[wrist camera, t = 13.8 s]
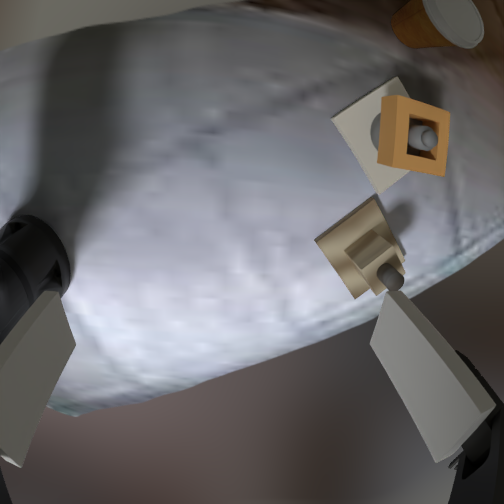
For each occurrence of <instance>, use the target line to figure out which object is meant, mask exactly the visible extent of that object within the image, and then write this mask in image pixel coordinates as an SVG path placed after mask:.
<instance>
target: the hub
mask: <svg viewBox="0 0 504 504" xmlns="http://www.w3.org/2000/svg"><path fill="white" fill-rule="evenodd" d="M392 95H400V96H403V97H407V98H410V97H409V95H408V93H407V91H406V90H405V88H404V86H403V85H402V83H401V81H400V80H399V78H398V77H394V78H392V79H390V80H389V81H387V82H386V83H384V84H382V85H381V86H379V87H378V88H376V89H374V90H373V91H371V92H370V93H368V94H367V95H365V96H364V97H362V98H360V99H359V100H357V101H356V102H354V103H353V104H351V105H350V106H348V107H347V108H345V109H344V110H342V111H341V112H339V113H338V114H336V115H335V116H333V117H332V118H330V119H331V120H332V122H333V123H334V125H335V126H336V128H337V129H338V131H339V132H340V134H341V135H342V137H343V138H344V140H345V141H346V143H347V144H348V146H349V148H350V149H351V151H352V152H353V154H354V156H355V157H356V159H357V161H358V162H359V164H360V166H361V167H362V169H363V171H364V172H365V174H366V176H367V178H368V179H369V181H370V183H371V185H372V186H373V188H374V190H375V192H376V193H377V194H379V195H380V194H381V193H382V192H384V191H385V190H386V189H388V188H389V187H390V186H391V185H393V184H394V183H395V182H396V181H398V180H399V179H400V178H402V177H403V176H404V175H405V174H407V173H408V172H409V171H410V170H405V169H399V168H393V167H389V166H386V165H382V164H379V163H377V157H378V146H379V134H380V119H381V97H384V96H392ZM437 144H438V136H437V134H436V133H435V132H434V131H433V130H432V128H430V127H429V126H422V121H419V120H416V119H412V118H409V130H408V143H407V153H406V154H409V155H414V156H420V150H425V151H429V150H431V149H433V147H435V146H436V145H437Z"/></svg>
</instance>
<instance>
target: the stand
mask: <svg viewBox="0 0 504 504" xmlns="http://www.w3.org/2000/svg"><path fill="white" fill-rule="evenodd" d="M314 241H315V242H316V243H317V245H318V246H319V248H320V249H321V250H322V252H323V253H324V255H325V256H326V258H327V259H328V260H329V262H330V263H331V265H332V266H333V268H334V269H335V271H336V272H337V273H338V275H339V276H340V278H341V279H342V281H343V282H344V284H345V285H346V287H347V288H348V290H349V291H350V293H351V294H352V296H353V297H354V299H356V298H358V297H359V296H360V295H362V294H363V293H364V292H366V291H367V290H368V289H371V290H372V291H373V292H374V294H375V295H376V296H377V295H378V294H380V293H381V292H382V291H383V290H385V289H386V288H387V289H388V290H389V291H398V290H399V289H400V288H401V287H402V286H403V284H404V277H403V275H404V274H405V270H404V268H403V266H402V263H403V262H404V261H405V259H404V257H403V255H402V253H401V251H400V248H399V246H398V244H397V242H396V240H395V238H394V236H393V234H392V232H391V230H390V228H389V226H388V224H387V222H386V220H385V218H384V216H383V214H382V212H381V211H380V209H379V207H378V205H377V203H376V201H375V199H374V198H372V197H370V198H369V199H368V200H366V201H365V202H364V203H363V204H361V205H360V206H359V207H357V208H356V209H355V210H353V211H352V212H351V213H349V214H348V215H347V216H345V217H344V218H343V219H341V220H340V221H339V222H338V223H336V224H335V225H334V226H332V227H331V228H330V229H328V230H327V231H326V232H324V233H323V234H321V235H320V236H319V237H317V238H316V239H315V240H314Z"/></svg>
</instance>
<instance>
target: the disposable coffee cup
mask: <svg viewBox="0 0 504 504" xmlns="http://www.w3.org/2000/svg"><path fill="white" fill-rule="evenodd" d="M391 26H392V29H393V31H394V33H395V35H396V36H397V38H398V39H399V40H400V41H401V42H402V43H403V44H405V45H406V46H408V47H411V48H426V47H443V46H460V47H463V48H473V47H475V46H476V45H477V44H478V43H479V42H480V41H481V40H482V39H483V36H484V26H483V22H482V19H481V16H480V14H479V12H478V10H477V8H476V6H475V5H474V3H473V2H472V0H410V1H409V2H408V3H407V4H406V5H404V6H403V7H402V8H401V9H400V10H399V11H397V12H396V13H395V14H394V15H393V16H392V19H391Z"/></svg>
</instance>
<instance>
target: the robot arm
mask: <svg viewBox="0 0 504 504" xmlns="http://www.w3.org/2000/svg"><path fill="white" fill-rule="evenodd" d="M69 281H70V266H69V261H68V257H67V254H66V251H65V249H64V247H63V245H62V243H61V241H60V239H59V238H58V236H57V235H56V234H55V232H54V231H53V230H52V229H51V228H50V227H49V226H48V225H47V224H46V223H44V222H43V221H42V220H40V219H38V218H36V217H33V216H29V215H22V216H18V217H16V218H14V219H12V220H10V221H9V222H7V223H6V224H5V225H4V226H3V227H2V228H1V229H0V455H1V456H2V457H3V458H4V459H5V460H6V461H8V462H10V463H12V464H14V465H16V466H18V467H20V468H22V465H23V462H24V459H25V456H26V454H27V451H28V448H29V446H30V443H31V440H32V438H33V435H34V433H35V430H36V428H37V426H38V423H39V421H40V418H41V416H42V414H43V411H44V409H45V407H46V405H47V402H48V400H49V398H50V396H51V394H52V392H53V390H54V387H55V385H56V383H57V381H58V379H59V377H60V375H61V373H62V371H63V369H64V367H65V365H66V363H67V361H68V359H69V357H70V356H71V354H72V352H73V350H74V348H75V346H76V343H75V340H74V337H73V335H72V332H71V329H70V326H69V323H68V320H67V317H66V314H65V311H64V308H63V305H62V302H61V297H62V296H63V295H64V294H65V292H66V290H67V288H68V286H69ZM370 345H371V346H372V348H373V350H374V351H375V353H376V355H377V357H378V358H379V360H380V362H381V363H382V365H383V367H384V369H385V370H386V372H387V374H388V375H389V377H390V379H391V381H392V382H393V384H394V386H395V387H396V389H397V391H398V393H399V395H400V396H401V398H402V400H403V402H404V404H405V405H406V407H407V409H408V411H409V413H410V414H411V416H412V418H413V420H414V422H415V424H416V426H417V428H418V429H419V431H420V433H421V435H422V437H423V439H424V441H425V443H426V445H427V447H428V449H429V451H430V453H431V455H432V457H433V459H434V461H435V462H436V463H437V462H439V461H441V460H443V459H445V458H447V457H449V456H451V455H452V454H453V453H454V452H455V451H456V450H457V449H458V448H459V447H460V446H462V448H463V452H461V454H459V455H458V457H456V458H455V459H454V460H453V461H452V462H451V463H450V465H449V468H452V467H453V466H454V465H455V464H456V463H457V462H458V461H459V462H458V465H457V466H456V467H455V468H454V469H455V470H457V472H456V476H455V480H454V484H453V488H452V492H451V495H450V499H449V502H448V504H504V403H503V402H502V401H501V400H500V399H499V397H498V396H497V395H496V393H495V392H494V391H493V389H492V388H491V387H490V386H489V384H488V383H487V382H486V380H485V379H484V378H483V376H481V374H480V373H479V371H478V370H477V369H475V366H474V365H473V364H472V363H471V361H470V360H469V359H468V358H467V357H466V356H464V355H463V354H461V353H460V352H459V351H457V350H456V351H454V350H453V349H452V347H451V346H450V345H449V344H448V342H447V341H446V340H445V339H444V338H443V337H442V335H441V334H440V333H439V332H438V331H437V330H436V329H435V327H434V326H433V325H432V324H431V323H430V322H429V321H428V319H427V318H426V317H425V316H424V315H423V314H422V313H421V312H420V311H419V310H418V309H417V307H416V306H415V305H414V304H413V303H412V302H411V301H410V300H409V299H408V298H407V296H406V295H405V294H404V293H403V292H402V291H387V292H386V294H385V297H384V301H383V304H382V307H381V311H380V314H379V317H378V321H377V323H376V327H375V330H374V333H373V336H372V339H371V341H370ZM0 504H12V501H11V498H10V496H9V493H8V490H7V487H6V484H5V481H4V478H3V475H2V471H1V468H0Z"/></svg>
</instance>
